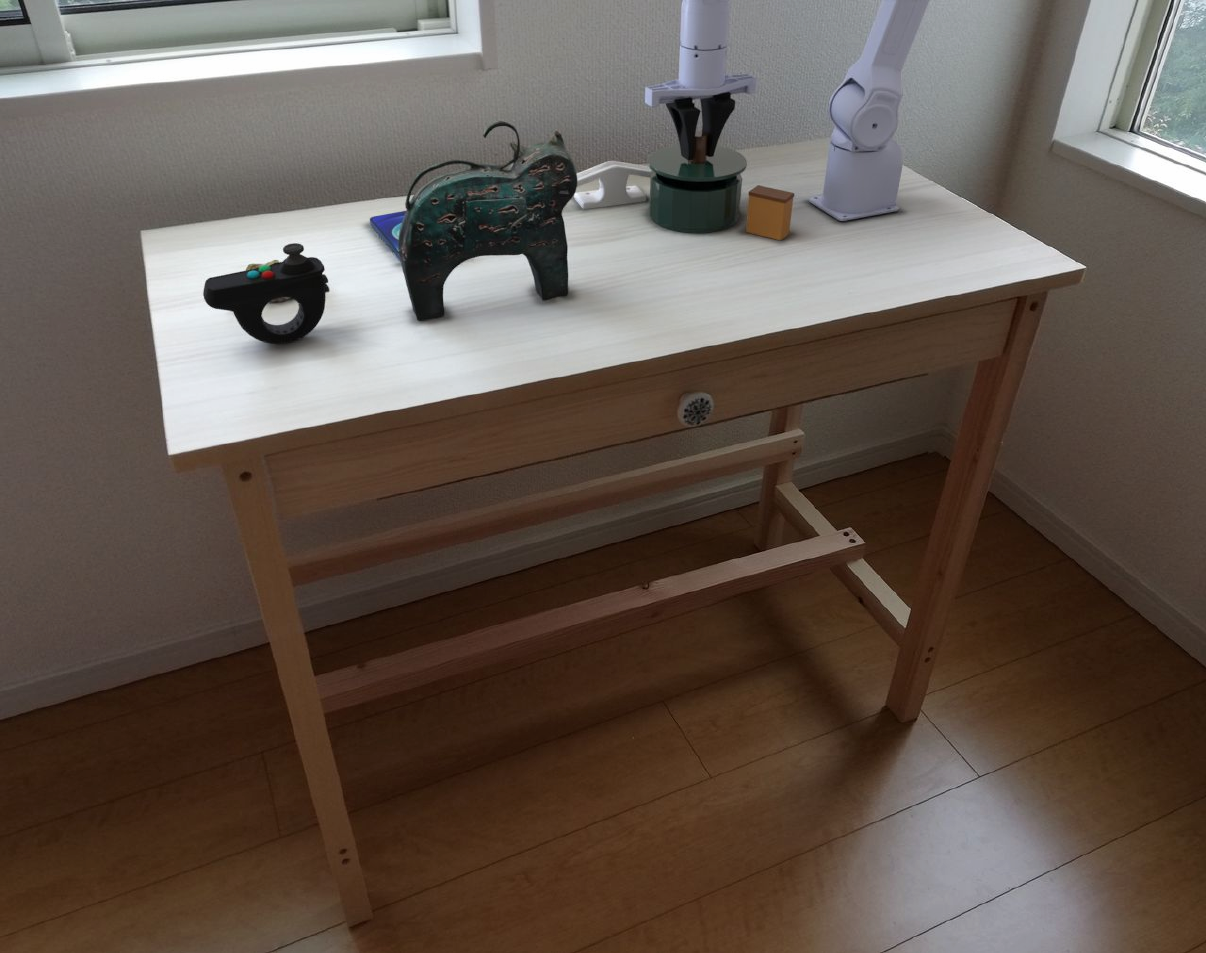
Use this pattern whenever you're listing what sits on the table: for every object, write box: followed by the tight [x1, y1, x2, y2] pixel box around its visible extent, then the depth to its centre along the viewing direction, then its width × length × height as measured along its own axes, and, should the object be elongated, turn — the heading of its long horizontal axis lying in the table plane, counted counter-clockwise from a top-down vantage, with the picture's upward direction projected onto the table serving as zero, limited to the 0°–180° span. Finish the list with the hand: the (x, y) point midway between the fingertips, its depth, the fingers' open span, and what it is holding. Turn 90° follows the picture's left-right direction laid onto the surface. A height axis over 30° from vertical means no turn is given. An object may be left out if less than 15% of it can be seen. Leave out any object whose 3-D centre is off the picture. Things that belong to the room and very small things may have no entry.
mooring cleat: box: [573, 160, 652, 210], centre depth 137 cm, size 4×20×5 cm, turn 108°
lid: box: [647, 130, 748, 182], centre depth 129 cm, size 13×13×4 cm
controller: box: [202, 242, 330, 345], centre depth 103 cm, size 4×12×10 cm, turn 117°
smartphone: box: [369, 210, 406, 263], centre depth 127 cm, size 8×1×15 cm
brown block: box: [745, 184, 795, 241], centre depth 127 cm, size 5×3×6 cm, turn 57°
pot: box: [649, 171, 743, 234], centre depth 132 cm, size 12×12×6 cm
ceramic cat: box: [398, 120, 578, 321], centre depth 107 cm, size 20×6×20 cm, turn 110°
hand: (697, 155), depth 129 cm, fingers closed on lid, 2 cm apart
